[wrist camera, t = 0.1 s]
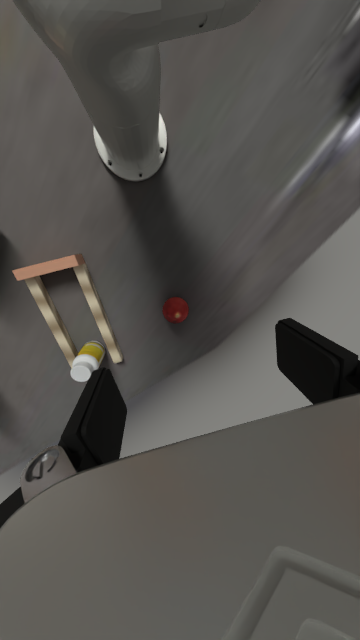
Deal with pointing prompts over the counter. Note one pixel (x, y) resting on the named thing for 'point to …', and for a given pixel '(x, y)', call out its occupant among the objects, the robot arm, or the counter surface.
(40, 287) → the wooden u-shaped frame
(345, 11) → the counter surface
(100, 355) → the supplement bottle
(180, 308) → the onion
